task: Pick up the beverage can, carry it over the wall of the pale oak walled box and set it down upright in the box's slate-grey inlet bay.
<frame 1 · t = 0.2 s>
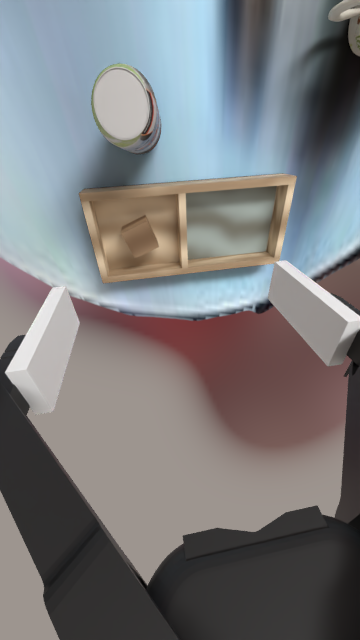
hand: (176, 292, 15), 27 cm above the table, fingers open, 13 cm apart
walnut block: (139, 232, 38), point 1 cm above the table, touching walled box
beverage can: (131, 122, 31), on the table
walled box: (188, 226, 39), on the table
mug: (354, 24, 29), on the table
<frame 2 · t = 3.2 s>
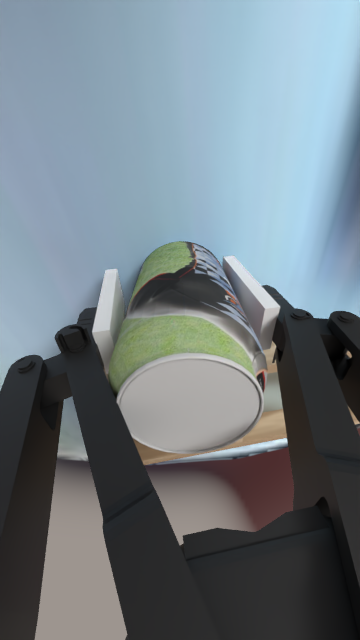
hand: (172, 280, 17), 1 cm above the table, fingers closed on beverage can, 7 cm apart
beverage can: (170, 273, 18), on the table, touching gripper
walled box: (242, 379, 26), on the table
when the fingers open (4 cm above the table, at t = 8.8 s): beverage can drops 2 cm, resting on walled box.
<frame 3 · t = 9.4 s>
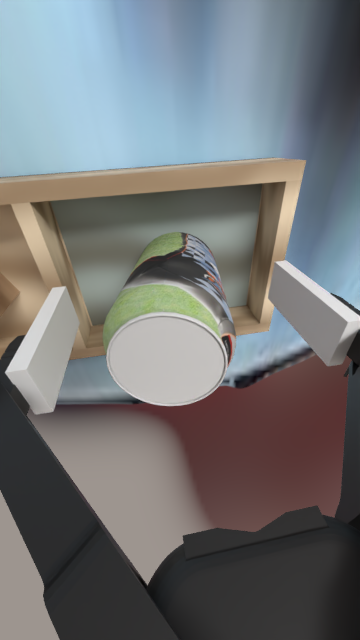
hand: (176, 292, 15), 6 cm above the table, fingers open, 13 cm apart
beverage can: (168, 261, 20), point 1 cm above the table, touching walled box
walled box: (87, 265, 20), on the table
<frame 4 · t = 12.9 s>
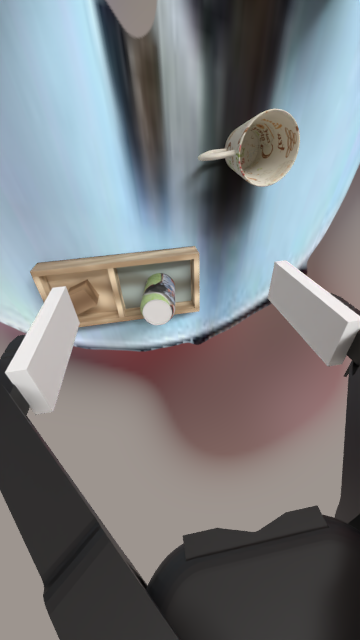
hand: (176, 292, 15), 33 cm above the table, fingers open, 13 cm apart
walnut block: (84, 291, 48), point 1 cm above the table, touching walled box
beverage can: (156, 282, 50), point 1 cm above the table, touching walled box
walled box: (124, 284, 50), on the table
mug: (228, 152, 39), on the table
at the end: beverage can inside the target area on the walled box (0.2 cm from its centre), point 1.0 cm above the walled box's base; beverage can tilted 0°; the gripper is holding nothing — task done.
